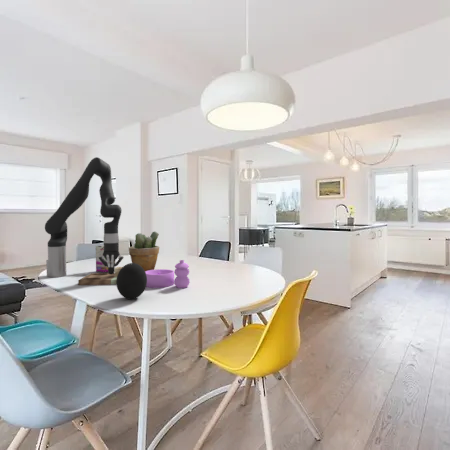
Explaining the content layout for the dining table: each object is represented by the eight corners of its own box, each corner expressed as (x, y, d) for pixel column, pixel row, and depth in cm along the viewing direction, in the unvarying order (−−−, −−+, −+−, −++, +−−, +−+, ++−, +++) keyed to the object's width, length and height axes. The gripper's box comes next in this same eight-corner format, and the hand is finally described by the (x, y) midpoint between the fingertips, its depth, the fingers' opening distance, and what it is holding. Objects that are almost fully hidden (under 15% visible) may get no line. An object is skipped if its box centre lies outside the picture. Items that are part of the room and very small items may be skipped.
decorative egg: (110, 299, 126) (109, 263, 126) (134, 293, 137) (133, 260, 136) (129, 304, 119) (129, 266, 119) (153, 297, 130) (152, 262, 129)
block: (114, 276, 160) (114, 268, 160) (117, 275, 165) (117, 266, 165) (124, 276, 160) (124, 268, 160) (126, 274, 165) (126, 266, 165)
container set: (137, 286, 150) (136, 259, 150) (155, 280, 164) (155, 256, 164) (180, 291, 140) (179, 263, 140) (196, 284, 154) (196, 258, 154)
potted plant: (141, 276, 174) (140, 233, 174) (122, 272, 186) (121, 231, 185) (165, 271, 189) (165, 231, 188) (146, 268, 200) (146, 230, 199)
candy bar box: (116, 271, 189) (115, 245, 189) (110, 272, 184) (110, 246, 184) (101, 270, 192) (100, 244, 192) (95, 271, 188) (95, 245, 187)
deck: (78, 285, 152) (78, 275, 152) (91, 277, 170) (91, 268, 170) (127, 284, 154) (126, 274, 154) (134, 276, 172) (134, 268, 172)
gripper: (95, 242, 157) (96, 275, 158) (122, 242, 158) (122, 275, 159) (100, 241, 165) (100, 272, 165) (125, 241, 166) (125, 272, 166)
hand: (111, 274), depth 162 cm, fingers closed
